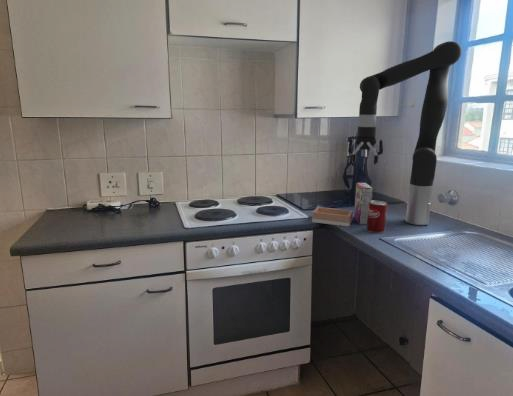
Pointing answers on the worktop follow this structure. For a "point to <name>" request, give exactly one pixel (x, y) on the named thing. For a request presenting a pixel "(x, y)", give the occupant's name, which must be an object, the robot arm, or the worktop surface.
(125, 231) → the worktop surface
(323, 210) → the tan flat open box
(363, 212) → the candy bar box
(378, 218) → the soda can
